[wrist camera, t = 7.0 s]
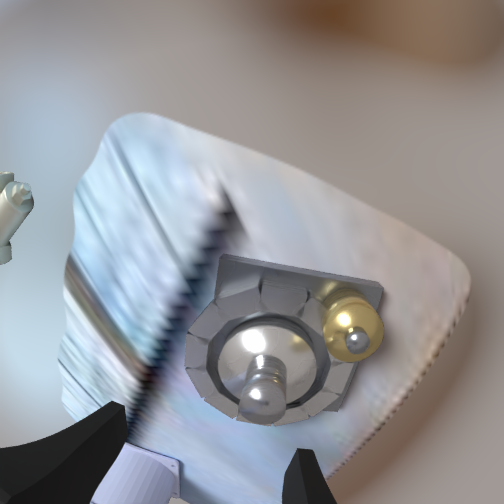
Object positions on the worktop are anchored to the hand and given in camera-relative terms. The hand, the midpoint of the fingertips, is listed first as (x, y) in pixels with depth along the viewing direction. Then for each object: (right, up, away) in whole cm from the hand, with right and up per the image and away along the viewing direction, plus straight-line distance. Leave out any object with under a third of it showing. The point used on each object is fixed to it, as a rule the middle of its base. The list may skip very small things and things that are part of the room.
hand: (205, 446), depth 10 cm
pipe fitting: (-19, +11, +10) cm, 25 cm away
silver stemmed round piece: (+3, +1, +8) cm, 9 cm away
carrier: (+4, +2, +9) cm, 10 cm away
